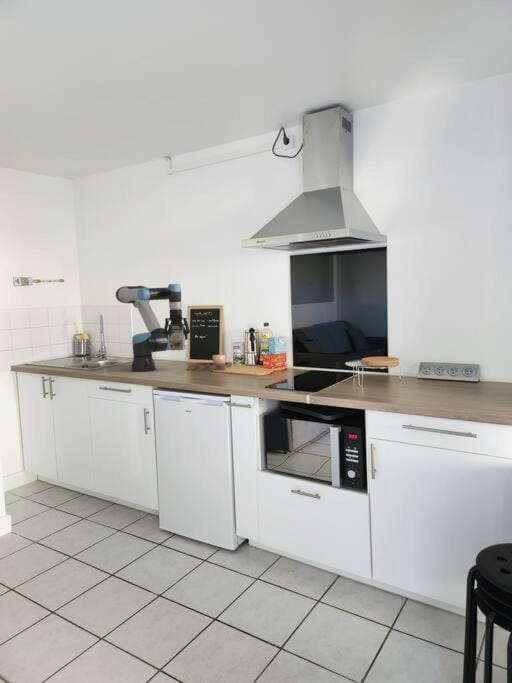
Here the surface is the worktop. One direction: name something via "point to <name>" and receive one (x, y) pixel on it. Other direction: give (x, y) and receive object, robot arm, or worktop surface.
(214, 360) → the light brown rounded block
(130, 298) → the robot arm
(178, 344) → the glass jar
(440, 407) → the worktop surface
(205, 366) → the caddy
